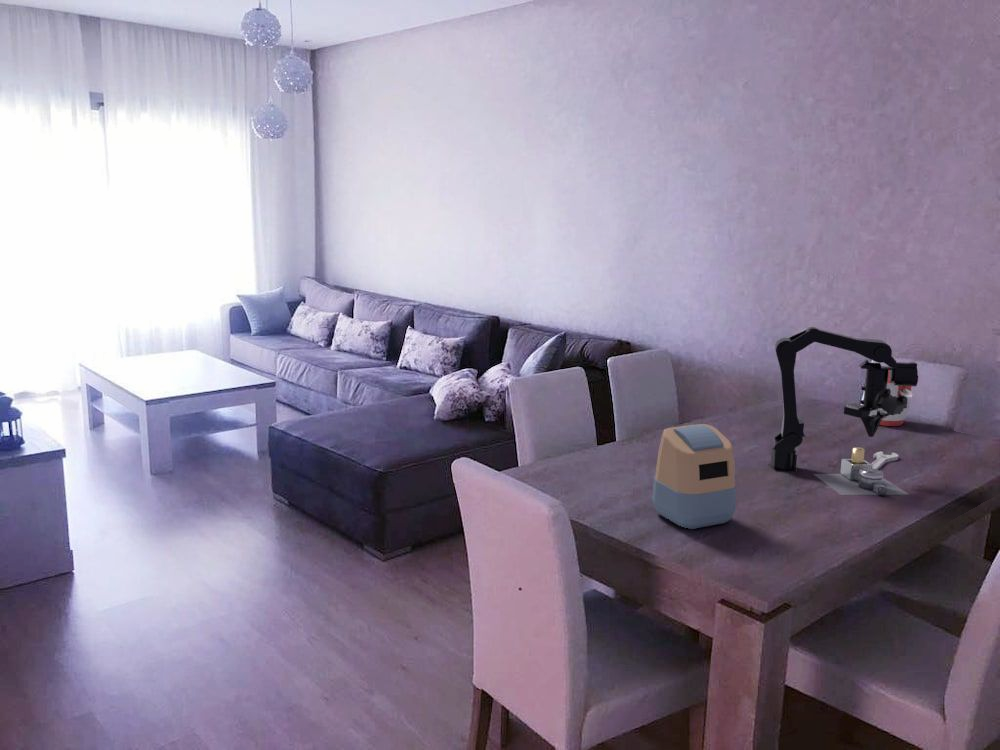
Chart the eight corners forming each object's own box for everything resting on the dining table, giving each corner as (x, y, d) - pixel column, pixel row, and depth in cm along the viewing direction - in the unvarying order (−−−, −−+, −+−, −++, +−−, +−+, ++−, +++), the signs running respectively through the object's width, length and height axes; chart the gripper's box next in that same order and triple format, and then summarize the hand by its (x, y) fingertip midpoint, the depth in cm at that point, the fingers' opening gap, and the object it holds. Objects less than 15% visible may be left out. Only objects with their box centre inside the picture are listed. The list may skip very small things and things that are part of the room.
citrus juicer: (889, 431, 285) (895, 376, 281) (852, 419, 301) (857, 367, 297) (922, 427, 291) (928, 373, 287) (884, 416, 307) (889, 364, 303)
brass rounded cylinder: (853, 475, 232) (855, 450, 231) (847, 471, 235) (850, 447, 234) (863, 475, 232) (866, 450, 231) (858, 471, 236) (861, 447, 234)
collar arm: (895, 495, 218) (896, 480, 217) (872, 495, 218) (874, 480, 217) (861, 472, 237) (862, 458, 236) (840, 472, 237) (841, 458, 236)
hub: (864, 492, 223) (865, 474, 222) (853, 484, 229) (855, 467, 228) (885, 491, 223) (887, 474, 222) (875, 484, 229) (876, 467, 228)
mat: (840, 495, 220) (840, 494, 220) (813, 474, 237) (813, 474, 237) (909, 495, 220) (909, 494, 220) (876, 474, 238) (876, 473, 238)
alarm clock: (685, 535, 193) (689, 441, 188) (645, 512, 208) (649, 425, 203) (740, 524, 199) (746, 434, 194) (698, 503, 214) (703, 418, 210)
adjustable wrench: (871, 477, 237) (871, 472, 236) (849, 473, 241) (849, 467, 241) (900, 459, 254) (900, 453, 254) (879, 454, 259) (879, 449, 258)
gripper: (878, 392, 220) (872, 447, 223) (923, 386, 228) (917, 439, 231) (844, 385, 229) (839, 438, 233) (888, 379, 238) (883, 430, 241)
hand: (870, 436), depth 234 cm, fingers closed
